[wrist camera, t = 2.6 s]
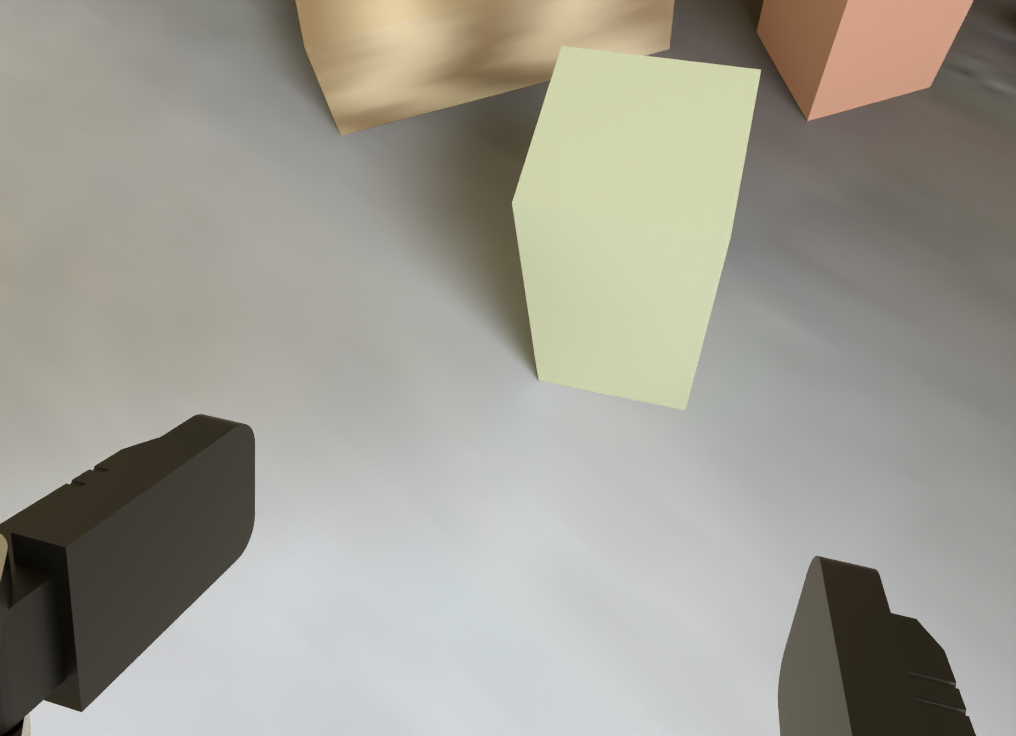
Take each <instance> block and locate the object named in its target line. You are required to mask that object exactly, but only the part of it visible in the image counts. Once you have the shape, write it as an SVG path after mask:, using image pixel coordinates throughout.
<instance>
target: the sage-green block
mask: <svg viewBox="0 0 1016 736" xmlns="http://www.w3.org/2000/svg"><path fill="white" fill-rule="evenodd" d="M760 73H761V70H758V69H750V68H742V67H734V66H725V65H717V64H709V63H701V62H692V61H684V60H676V59H667V58H659V57H651V56H643V55H634V54H626V53H618V52H609V51H601V50H593V49H585V48H576V47H568V46H561V49H560V53H559V56H558V59H557V62H556V65H555V68H554V71H553V75H552V78H551V81H550V84H549V87H548V90H547V94H546V97H545V100H544V103H543V106H542V109H541V113H540V116H539V119H538V122H537V125H536V128H535V132H534V135H533V138H532V141H531V144H530V147H529V151H528V154H527V157H526V160H525V163H524V166H523V170H522V173H521V176H520V179H519V182H518V185H517V188H516V192H515V195H514V198H513V201H512V207H513V213H514V220H515V227H516V234H517V240H518V247H519V254H520V260H521V267H522V274H523V281H524V287H525V294H526V301H527V307H528V314H529V321H530V327H531V334H532V341H533V348H534V354H535V361H536V368H537V374H538V381H543V382H548V383H553V384H558V385H562V386H567V387H572V388H577V389H582V390H587V391H592V392H597V393H602V394H607V395H612V396H617V397H622V398H627V399H631V400H636V401H641V402H646V403H651V404H656V405H661V406H666V407H671V408H676V409H681V410H686V406H687V402H688V398H689V394H690V391H691V387H692V383H693V379H694V375H695V371H696V368H697V364H698V360H699V356H700V352H701V348H702V345H703V341H704V337H705V333H706V329H707V326H708V322H709V318H710V314H711V310H712V306H713V303H714V299H715V295H716V291H717V287H718V283H719V280H720V276H721V272H722V268H723V264H724V260H725V257H726V253H727V249H728V245H729V241H730V237H731V232H732V226H733V221H734V215H735V210H736V205H737V199H738V194H739V188H740V183H741V177H742V172H743V166H744V161H745V155H746V150H747V144H748V139H749V134H750V128H751V123H752V117H753V112H754V106H755V101H756V95H757V90H758V84H759V79H760Z"/></svg>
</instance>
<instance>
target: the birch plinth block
mask: <svg viewBox="0 0 1016 736" xmlns="http://www.w3.org/2000/svg"><path fill="white" fill-rule="evenodd" d="M295 1H296V6H297V11H298V16H299V21H300V26H301V32H302V37H303V42H304V47H305V50H306V52H307V55H308V57H309V60H310V62H311V64H312V67H313V69H314V72H315V74H316V77H317V79H318V81H319V84H320V86H321V89H322V91H323V94H324V96H325V98H326V101H327V103H328V106H329V108H330V111H331V113H332V116H333V118H334V120H335V123H336V125H337V128H338V130H339V133H340V135H341V136H342V135H345V134H349V133H353V132H357V131H361V130H364V129H368V128H372V127H376V126H380V125H383V124H387V123H391V122H395V121H398V120H402V119H406V118H410V117H414V116H417V115H421V114H425V113H429V112H433V111H436V110H440V109H444V108H448V107H452V106H455V105H459V104H463V103H467V102H470V101H474V100H478V99H482V98H486V97H489V96H493V95H497V94H501V93H505V92H508V91H512V90H516V89H520V88H524V87H527V86H531V85H535V84H539V83H543V82H546V81H550V80H551V78H552V75H553V71H554V68H555V65H556V62H557V59H558V56H559V53H560V49H561V46H568V47H576V48H585V49H593V50H601V51H609V52H618V53H626V54H634V55H643V56H645V55H649V54H652V53H656V52H660V51H664V50H668V49H670V39H671V30H672V20H673V10H674V1H675V0H295Z"/></svg>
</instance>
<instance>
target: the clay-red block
mask: <svg viewBox="0 0 1016 736" xmlns="http://www.w3.org/2000/svg"><path fill="white" fill-rule="evenodd" d="M972 2H973V0H764V2H763V6H762V10H761V15H760V19H759V24H758V28H757V34H758V36H759V38H760V39H761V41H762V43H763V45H764V46H765V48H766V50H767V52H768V53H769V55H770V57H771V59H772V60H773V62H774V64H775V66H776V67H777V69H778V71H779V73H780V74H781V76H782V78H783V80H784V81H785V83H786V85H787V87H788V88H789V90H790V92H791V94H792V95H793V97H794V99H795V101H796V102H797V104H798V106H799V108H800V109H801V111H802V113H803V115H804V116H805V118H806V120H807V121H810V120H813V119H817V118H821V117H824V116H828V115H831V114H835V113H838V112H842V111H846V110H849V109H853V108H856V107H860V106H864V105H867V104H871V103H874V102H878V101H882V100H885V99H889V98H892V97H896V96H899V95H903V94H907V93H910V92H914V91H917V90H921V89H925V88H928V87H930V86H931V84H932V82H933V80H934V78H935V76H936V74H937V72H938V70H939V68H940V66H941V64H942V62H943V60H944V58H945V56H946V54H947V52H948V50H949V48H950V46H951V44H952V42H953V40H954V38H955V36H956V34H957V32H958V30H959V28H960V26H961V24H962V22H963V20H964V18H965V16H966V14H967V12H968V10H969V8H970V6H971V4H972Z"/></svg>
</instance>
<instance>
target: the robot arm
mask: <svg viewBox="0 0 1016 736" xmlns="http://www.w3.org/2000/svg"><path fill="white" fill-rule="evenodd" d="M254 520H255V438H254V434H253V431H252V429H251V427H249V426H248V425H246V424H242V423H238V422H234V421H229V420H225V419H221V418H216V417H212V416H207V415H203V414H199V415H195V416H193V417H192V418H190V419H188V420H187V421H185V422H184V423H182V424H181V425H179V426H177V427H176V428H174V429H173V430H171V431H170V432H168V433H166V434H165V435H163V436H162V437H160V438H156V439H153V440H150V441H146V442H143V443H140V444H137V445H134V446H131V447H128V448H125V449H122V450H120V451H119V452H117V453H115V454H114V455H112V456H110V457H109V458H107V459H106V460H104V461H102V462H101V463H99V464H97V465H96V466H95V467H94V470H88V471H86V472H84V473H83V474H81V475H79V476H78V477H76V478H75V479H73V480H72V483H71V484H70V485H69V484H65V485H63V486H62V487H60V488H58V489H57V490H55V491H53V492H52V493H50V494H48V495H47V496H45V497H44V498H42V499H40V500H39V501H37V502H35V503H34V504H32V505H31V506H29V507H27V508H26V509H24V510H22V511H21V512H19V513H18V514H16V515H14V516H13V517H11V518H9V519H8V520H6V521H4V522H3V523H1V524H0V736H31V726H30V718H29V712H30V711H32V710H33V709H34V708H35V707H36V706H37V705H38V704H39V703H40V702H42V701H43V700H45V701H48V702H52V703H55V704H58V705H61V706H64V707H67V708H70V709H74V710H77V711H80V712H82V711H83V710H84V709H85V708H86V707H87V706H88V705H89V704H91V703H92V702H93V701H94V700H95V699H96V698H97V697H98V696H99V695H100V694H101V693H102V692H103V691H104V690H105V689H106V688H107V687H108V686H109V685H110V684H111V683H112V682H113V681H114V680H115V679H116V678H117V677H118V676H119V675H120V674H121V673H122V672H123V671H124V670H125V669H126V668H127V667H128V666H129V665H130V664H131V663H132V662H133V661H134V660H135V659H136V658H137V657H138V656H139V655H141V654H142V653H143V652H144V651H145V650H146V649H147V648H148V647H149V646H150V645H151V644H152V643H153V642H154V641H155V640H156V639H157V638H158V637H159V636H160V635H161V634H162V633H163V632H164V631H165V630H166V629H167V628H168V627H169V626H170V625H171V624H172V623H173V622H174V621H175V620H176V619H177V618H178V617H179V616H180V615H181V614H182V613H183V612H184V611H185V610H186V609H187V608H188V607H189V606H191V605H192V604H193V603H194V602H195V601H196V600H197V599H198V598H199V597H200V596H201V595H202V594H203V593H204V592H205V591H206V590H207V589H208V588H209V587H210V586H211V585H212V584H213V583H214V582H215V581H216V580H217V579H218V578H219V577H220V576H221V575H222V574H223V573H224V572H225V571H226V570H227V569H228V568H229V567H230V566H231V565H232V564H233V563H234V562H235V561H236V560H237V559H238V558H239V557H240V556H241V555H242V553H243V552H244V550H245V548H246V546H247V544H248V542H249V540H250V537H251V534H252V531H253V526H254ZM778 709H779V722H780V735H781V736H976V735H975V732H974V729H973V726H972V724H971V721H970V718H969V716H966V714H965V713H966V708H965V705H964V702H963V699H962V697H961V694H960V691H959V689H957V688H956V681H955V678H954V675H953V673H952V670H951V667H950V664H949V662H948V659H947V656H946V654H945V651H944V650H943V648H942V647H941V646H940V645H939V644H938V643H937V642H936V641H935V640H934V638H933V637H932V636H931V635H930V634H929V633H928V632H927V631H926V629H925V628H924V627H923V626H922V625H921V624H920V623H919V622H918V620H917V619H914V618H909V617H905V616H901V615H897V614H893V613H891V612H890V609H889V605H888V602H887V599H886V595H885V592H884V588H883V585H882V582H881V578H880V575H879V573H878V571H877V570H876V569H872V568H868V567H863V566H859V565H855V564H850V563H846V562H841V561H837V560H833V559H828V558H824V557H820V556H815V557H814V558H813V560H812V562H811V564H810V566H809V569H808V572H807V575H806V579H805V582H804V585H803V589H802V592H801V596H800V599H799V603H798V606H797V610H796V613H795V616H794V620H793V623H792V627H791V630H790V634H789V637H788V640H787V644H786V647H785V651H784V655H783V659H782V664H781V670H780V677H779V686H778Z"/></svg>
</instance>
